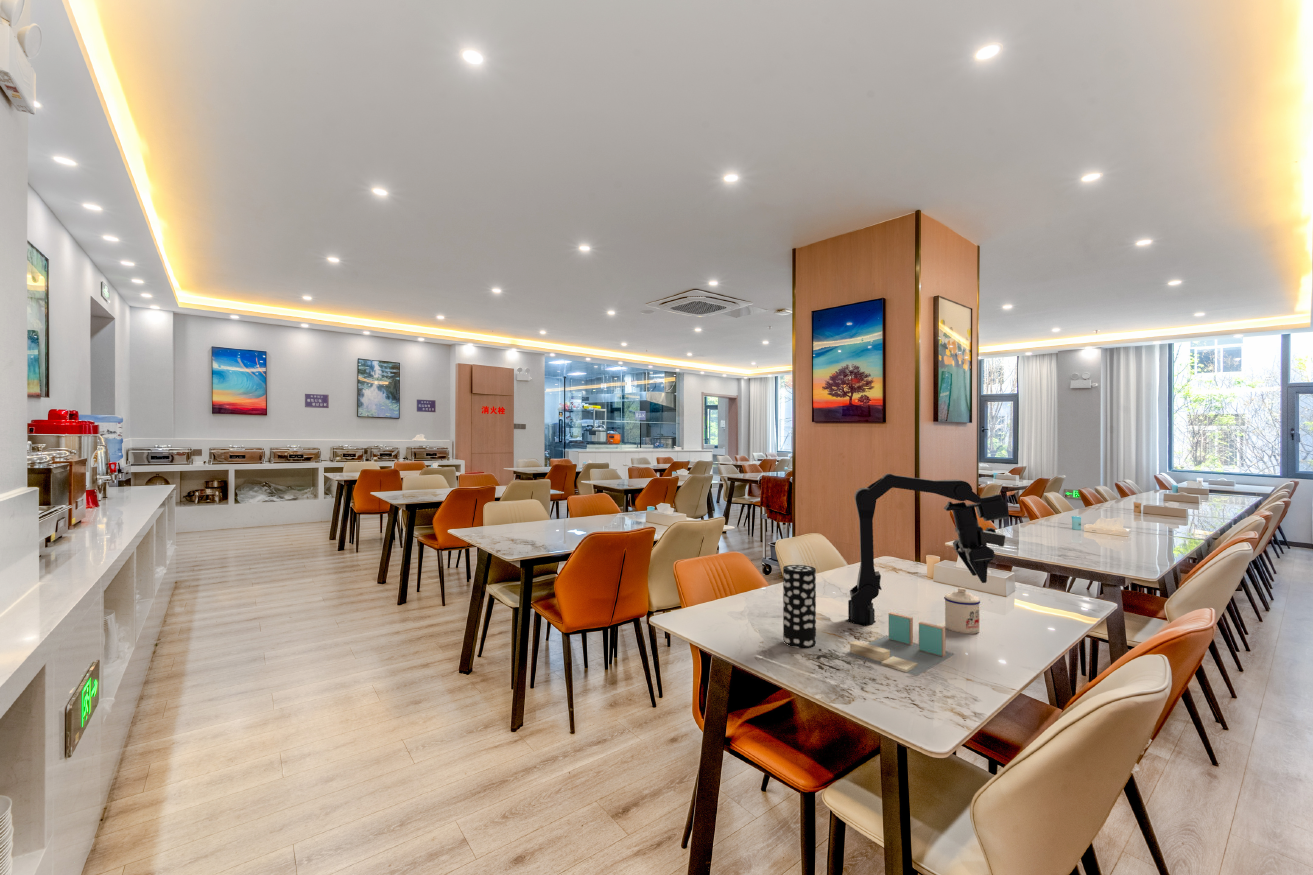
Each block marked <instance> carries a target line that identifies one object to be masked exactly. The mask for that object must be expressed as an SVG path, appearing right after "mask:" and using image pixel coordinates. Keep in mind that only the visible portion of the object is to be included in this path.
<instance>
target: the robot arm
mask: <svg viewBox="0 0 1313 875" xmlns="http://www.w3.org/2000/svg"><path fill="white" fill-rule="evenodd" d="M894 488H895V489H899V490H900V489H901V490H908V491H917V492H921V493H931V494H935V495H938V496H942V497H945V498H948V499H951V500H955V501H958V502H955V503H953V502H952V501H948V502H947V503H946V505H945V506H944V507H943V509H944V510H945V511H946V512H950V511H952V516H953V519H954V525H955V527H954V531H955V532H956V534H957V537H958V538H957V539H954V541H953V542H952V545H953V550H955V553H956V554H957V555H958V557H959V558H960V560H961V561H962V562H963V564H964V565H965V567H966V568H967V569H968V571H969V572H970V574H971V575H972V576H975V577H976V576H977V577H978V580H980V582H981V583H982V584H986V583H987V582H988V568H989V566H988V565H989V564H990V563H991V561H994V559H995V558H996V554H995V550H994V549H992V548H991V547H989V546H988V544H989V545H994V546H995V545H996V546H999V547H1001V548H1002V547H1004V546H1005V540H1006V534H1003V533H1000V532H997V531H996V529H995V528H993V527H986V528H985V530H984V528H983V527H982V526H980V524H979V520H978V518H979V519H982V520H983V521H984V522H989V521H997V520H1003V519H1008V518H1009V510H1008V506H1007V505H1006V503H1005V500H1004V499H1003V496H1002V494H999V493H997V494H991V495H989V496H983V497H980V495H978V494H977V493H976V492H974V491H973V487H972V485H971V484H970V483H969V482H967V481H966V480H965V481H964V480H961V479H941V480H940V479H939V480H937V479H935V480H932V479H925V478H919V477H913V476H911V477H910V476H903V475H902V476H901V475H896V474H892V473H886V474H884V475H883V476H882V477H881V478H879V479H877V480H876V481H874V482H873V483H871V484H870V485H868V486H867V487H860V488H858V489H857V490H856V491H855V493H854V495H853V496H854V497H853V498H854V501H855V507H856V511H857V515H858V522H859V523H858V526H859V529H858V530H859V551H860V552H859V558H860V559H859V560H860V562H859V563H860V566H859V569H858V573H857V579H856V580H857V582H856V585H855V586H853V587H852V588H851V589H850V590H849V595H850V596H849V597H850V599H848V601H847V602H848V603H847V605H848V608H847V609H848V611H847V612H848V613H847V614H848V618H847V619H845V622H846V623H850V624H854V625H858V626H861V627H868V626H871V625H872V624H875V623H877V620H875V619H876V618H875V615H876V614H875V612H876V610H875V608H874V602H873V600H874V599H876V598H877V597H878V596H879V595H880V594H879V592H880V591H882V586H881V577H882V574H881V573H880V571H876V569H875V560H874V559H875V557H874V556H875V555H874V526H873V524H874V522H873V520H874V515H875V512H876V511H875V510H876V506H877V504H876V503H877V500H878V499H880V497H882V496H884V494H886V493H887V492H888V491H890V490H892V489H894ZM965 501H968V502H971V503H970V504H966V502H965ZM977 516H978V517H977Z"/></svg>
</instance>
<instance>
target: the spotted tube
mask: <svg viewBox="0 0 1313 875" xmlns="http://www.w3.org/2000/svg"><path fill="white" fill-rule="evenodd" d="M782 570H783V572H782V577H783V578H782V585H783V587H782V588H783V591H782V595H783V596H782V598H783V600H782V601H783V602H782V603H783V606H782V608H783V609H782V610H783V613H782V614H783V616H782V618H783V619H782V620H783V621H782V622H783V627H782V628H783V630H782V631H783V633H782V635H783V640H784V642H785V643H786V644H788V645H790V646H794V647H798V648H797V649H812V648H814V647H816V645H817V614H816V613H817V599H816V598H817V597H816V596H817V593H816V591H817V590H816V588H817V587H816V586H817V584H816V583H817V581H816V580H817V578H816V577H817V575H816V573H817V571H816V570H817V569H816V567H814V566H810V565H804V564H789V565H784V566H783V568H782ZM783 640H782V641H783ZM786 644H785V645H786ZM788 645H787V646H788ZM790 646H789V647H790ZM794 647H793V648H794Z"/></svg>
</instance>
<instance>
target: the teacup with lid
mask: <svg viewBox="0 0 1313 875" xmlns="http://www.w3.org/2000/svg"><path fill="white" fill-rule="evenodd" d="M979 598H980V597H977V596H975V595H972V594H971V593H970V592H967V589H966V588H964V587H958V588H957V590H956V591H955V590H954V591H953V592H951V593H945V594H944V597H943V600H944V617H945V618H944V622H945V623H944V627H945V629H947V630H949V631H952V632H956V633H960V634H966V635H972V634H973V635H974V634H978V633H979V632H980V604H981V601H980V600H981V599H979Z"/></svg>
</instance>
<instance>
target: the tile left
mask: <svg viewBox="0 0 1313 875" xmlns="http://www.w3.org/2000/svg"><path fill="white" fill-rule="evenodd" d="M888 636H889V640H893V641H897V642H901V643H904V644H908V645H912V644H913V643H914V617H913V616H908V615H903V614H900V613H895V612H888Z"/></svg>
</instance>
